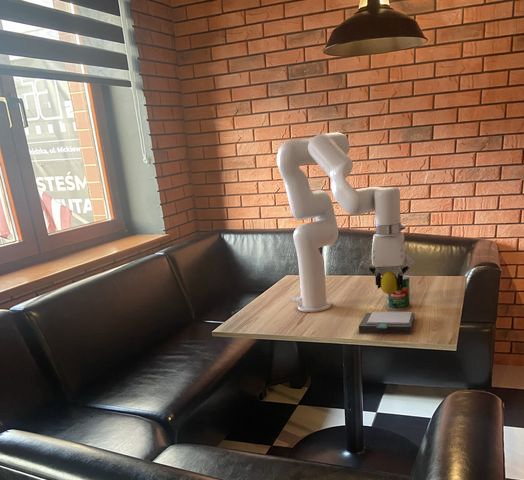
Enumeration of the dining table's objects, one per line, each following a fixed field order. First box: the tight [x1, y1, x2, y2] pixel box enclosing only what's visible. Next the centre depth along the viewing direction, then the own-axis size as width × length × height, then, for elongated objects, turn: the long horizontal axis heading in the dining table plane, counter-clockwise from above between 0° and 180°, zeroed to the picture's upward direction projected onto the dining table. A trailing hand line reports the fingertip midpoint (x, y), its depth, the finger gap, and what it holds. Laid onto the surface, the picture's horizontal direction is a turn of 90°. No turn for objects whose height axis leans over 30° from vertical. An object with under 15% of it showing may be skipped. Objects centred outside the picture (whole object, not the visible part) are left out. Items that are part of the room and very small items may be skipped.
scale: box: [358, 311, 416, 335], centre depth 173 cm, size 16×16×3 cm
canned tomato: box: [386, 273, 411, 311], centre depth 191 cm, size 8×8×11 cm
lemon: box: [380, 270, 398, 295], centre depth 169 cm, size 6×6×8 cm
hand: (389, 286), depth 170 cm, fingers closed on lemon, 5 cm apart
